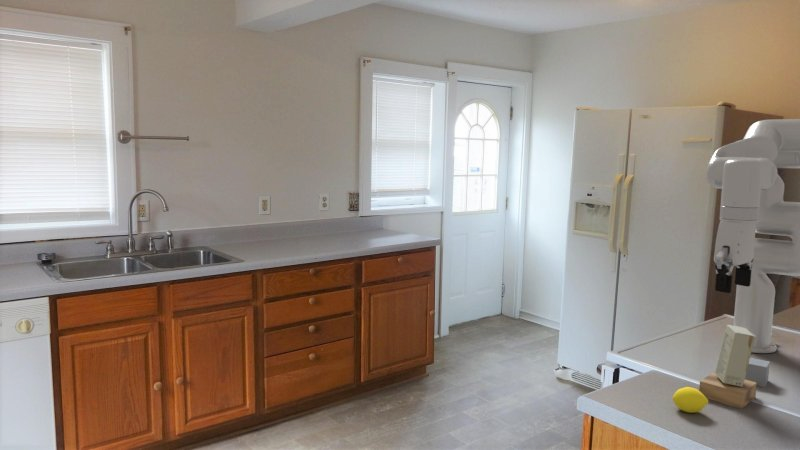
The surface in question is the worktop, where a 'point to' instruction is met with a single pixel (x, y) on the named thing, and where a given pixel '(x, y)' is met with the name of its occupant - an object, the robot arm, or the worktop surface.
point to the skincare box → (734, 355)
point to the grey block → (758, 371)
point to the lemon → (689, 400)
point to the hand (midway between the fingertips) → (732, 288)
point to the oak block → (727, 391)
